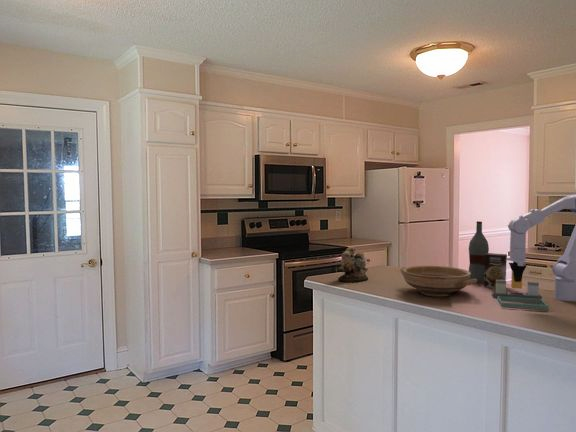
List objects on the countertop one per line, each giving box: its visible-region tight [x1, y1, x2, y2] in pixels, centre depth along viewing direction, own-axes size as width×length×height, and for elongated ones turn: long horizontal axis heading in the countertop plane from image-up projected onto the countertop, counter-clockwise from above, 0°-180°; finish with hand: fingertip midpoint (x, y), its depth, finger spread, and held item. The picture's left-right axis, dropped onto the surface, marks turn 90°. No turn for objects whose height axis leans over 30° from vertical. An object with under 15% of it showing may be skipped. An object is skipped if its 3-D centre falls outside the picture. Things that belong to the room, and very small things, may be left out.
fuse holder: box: [491, 290, 543, 300], centre depth 190 cm, size 18×7×3 cm, turn 73°
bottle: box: [468, 220, 490, 285], centre depth 227 cm, size 9×9×30 cm
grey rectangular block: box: [526, 280, 540, 296], centre depth 188 cm, size 4×2×7 cm, turn 73°
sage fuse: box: [495, 279, 507, 294], centre depth 192 cm, size 4×2×7 cm, turn 73°
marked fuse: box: [510, 270, 523, 290], centre depth 190 cm, size 4×2×7 cm, turn 73°
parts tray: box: [496, 296, 549, 313], centre depth 179 cm, size 16×11×2 cm
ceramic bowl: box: [399, 265, 477, 297], centre depth 203 cm, size 37×29×10 cm
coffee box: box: [483, 252, 508, 289], centre depth 212 cm, size 9×6×16 cm
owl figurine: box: [337, 246, 369, 284], centre depth 233 cm, size 18×12×17 cm, turn 126°
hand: (517, 280), depth 190 cm, fingers closed on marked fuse, 2 cm apart
